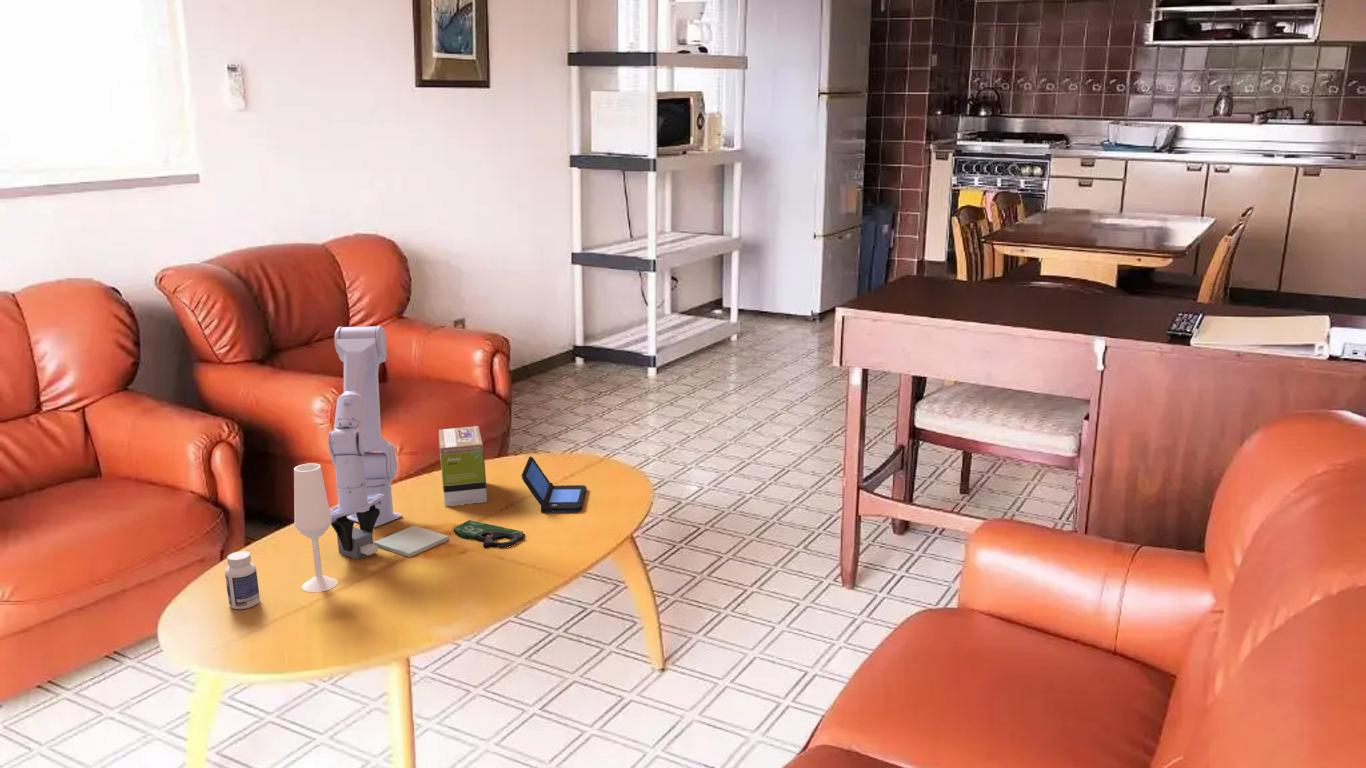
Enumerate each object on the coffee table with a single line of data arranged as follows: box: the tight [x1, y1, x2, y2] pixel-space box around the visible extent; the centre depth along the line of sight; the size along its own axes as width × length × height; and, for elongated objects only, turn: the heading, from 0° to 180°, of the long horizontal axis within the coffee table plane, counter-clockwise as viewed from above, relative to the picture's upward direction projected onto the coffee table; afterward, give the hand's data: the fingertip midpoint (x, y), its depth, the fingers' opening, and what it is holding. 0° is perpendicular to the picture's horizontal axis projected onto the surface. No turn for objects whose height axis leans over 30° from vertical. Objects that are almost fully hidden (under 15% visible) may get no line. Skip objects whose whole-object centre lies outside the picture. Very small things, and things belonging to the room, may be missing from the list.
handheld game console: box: [520, 456, 587, 514], centre depth 252 cm, size 16×13×9 cm
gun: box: [453, 519, 526, 549], centre depth 232 cm, size 16×1×10 cm
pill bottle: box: [224, 550, 261, 610], centre depth 201 cm, size 5×5×10 cm
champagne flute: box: [293, 462, 339, 593], centre depth 207 cm, size 7×7×24 cm
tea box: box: [438, 425, 488, 507], centre depth 256 cm, size 15×10×15 cm, turn 14°
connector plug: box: [336, 526, 379, 561], centre depth 224 cm, size 8×4×4 cm, turn 55°
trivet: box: [373, 525, 450, 558], centre depth 230 cm, size 11×11×1 cm
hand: (357, 546), depth 224 cm, fingers closed on connector plug, 4 cm apart
